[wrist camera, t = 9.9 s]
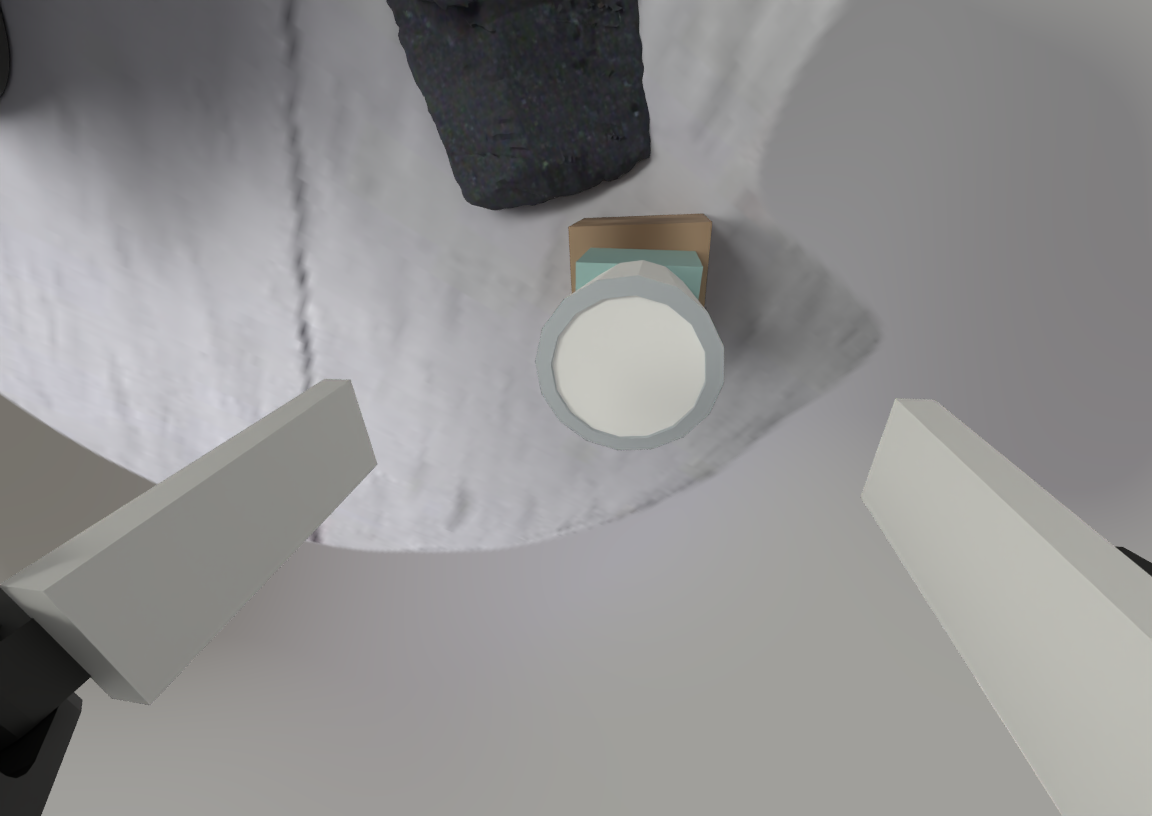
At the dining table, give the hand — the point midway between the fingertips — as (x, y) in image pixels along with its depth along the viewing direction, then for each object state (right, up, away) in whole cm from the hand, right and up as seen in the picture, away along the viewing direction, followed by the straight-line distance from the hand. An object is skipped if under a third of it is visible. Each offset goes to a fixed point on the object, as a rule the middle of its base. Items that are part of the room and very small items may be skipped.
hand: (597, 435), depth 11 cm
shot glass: (+3, +5, +11) cm, 12 cm away
